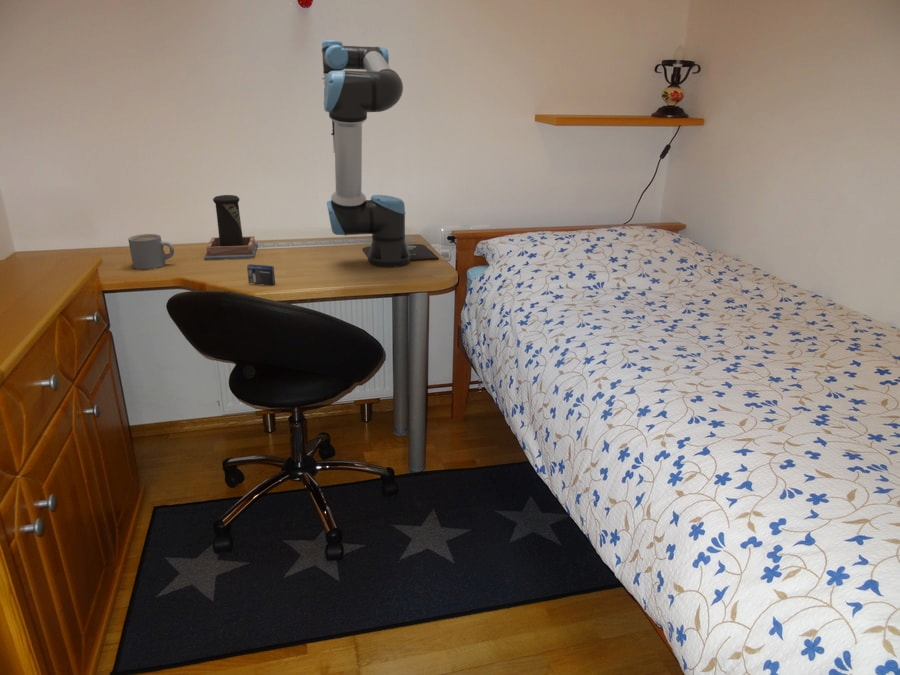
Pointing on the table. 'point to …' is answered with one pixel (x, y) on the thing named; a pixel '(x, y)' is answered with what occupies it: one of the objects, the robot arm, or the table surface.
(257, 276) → the mini dv tape
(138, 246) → the coffee mug
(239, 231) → the container
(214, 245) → the collar plate
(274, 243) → the table surface
